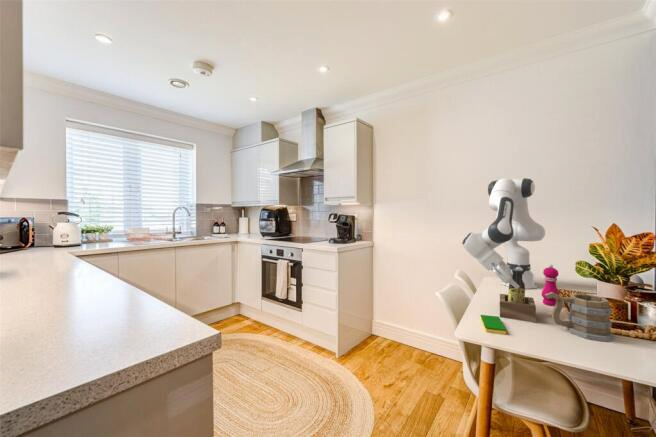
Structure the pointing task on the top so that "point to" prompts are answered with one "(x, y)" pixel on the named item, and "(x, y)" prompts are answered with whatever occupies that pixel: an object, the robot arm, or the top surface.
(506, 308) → the socket
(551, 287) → the pepper mill
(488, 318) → the dish sponge
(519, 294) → the sauce bottle
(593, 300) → the tankard
